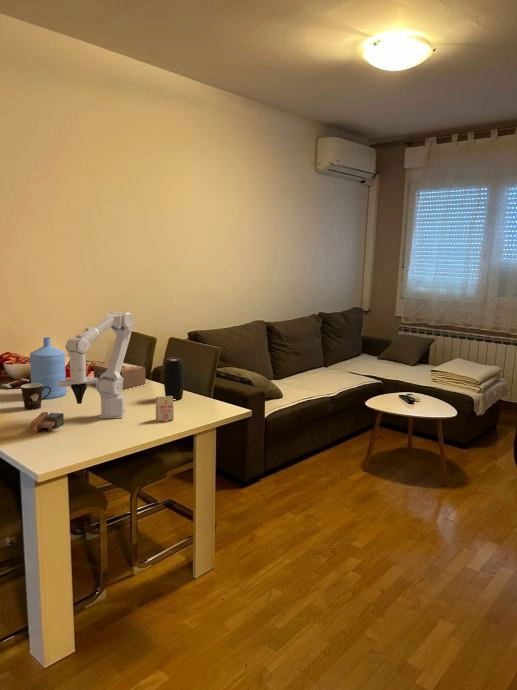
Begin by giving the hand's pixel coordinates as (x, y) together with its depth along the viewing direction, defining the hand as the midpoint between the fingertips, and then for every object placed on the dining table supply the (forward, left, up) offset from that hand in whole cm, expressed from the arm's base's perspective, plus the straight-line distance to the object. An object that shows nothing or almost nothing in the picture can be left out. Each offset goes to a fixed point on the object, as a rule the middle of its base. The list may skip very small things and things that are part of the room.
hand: (79, 403), depth 193 cm
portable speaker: (-34, -41, -10) cm, 54 cm away
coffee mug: (+25, -28, -10) cm, 39 cm away
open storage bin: (+10, -1, -10) cm, 14 cm away
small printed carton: (-32, -7, -10) cm, 34 cm away
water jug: (+26, -50, -10) cm, 57 cm away
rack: (+13, 0, -9) cm, 16 cm away
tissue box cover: (-3, -73, -10) cm, 74 cm away
